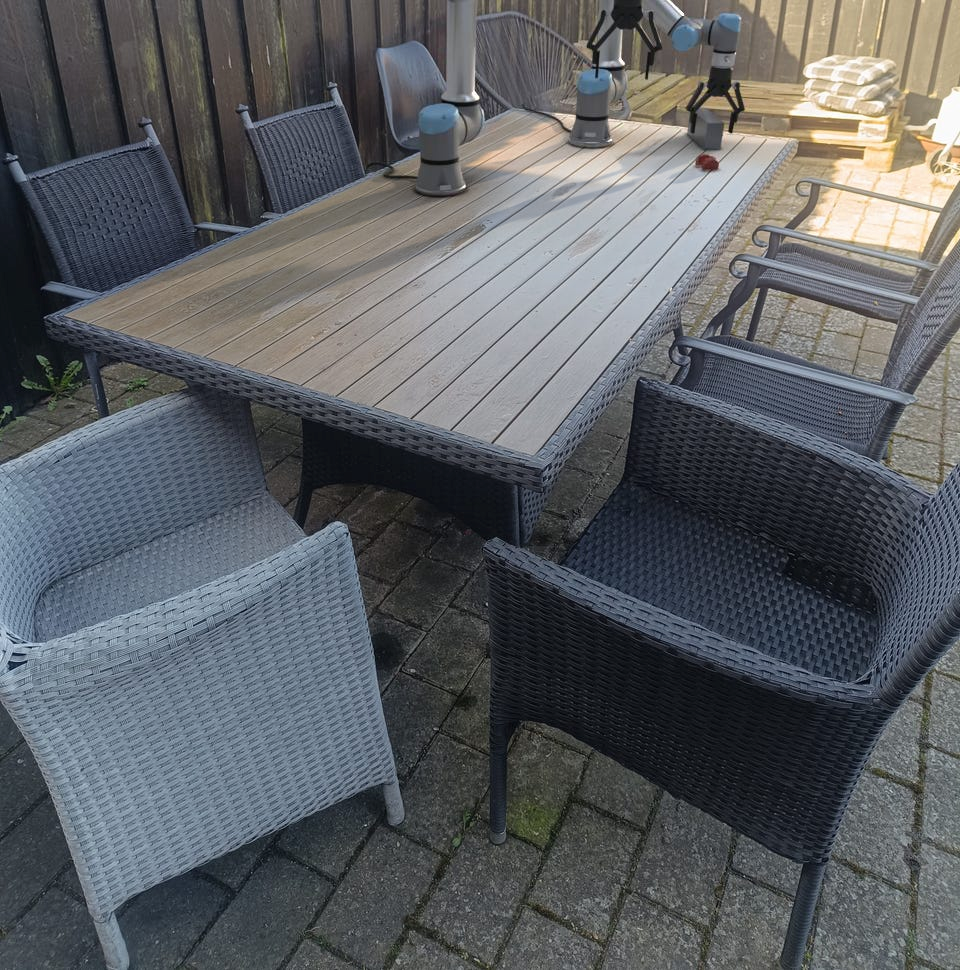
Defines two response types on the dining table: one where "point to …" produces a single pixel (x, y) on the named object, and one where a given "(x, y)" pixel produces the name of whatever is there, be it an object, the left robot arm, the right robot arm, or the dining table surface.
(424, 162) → the left robot arm
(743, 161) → the dining table surface
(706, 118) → the bar
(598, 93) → the right robot arm
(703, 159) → the dental model
